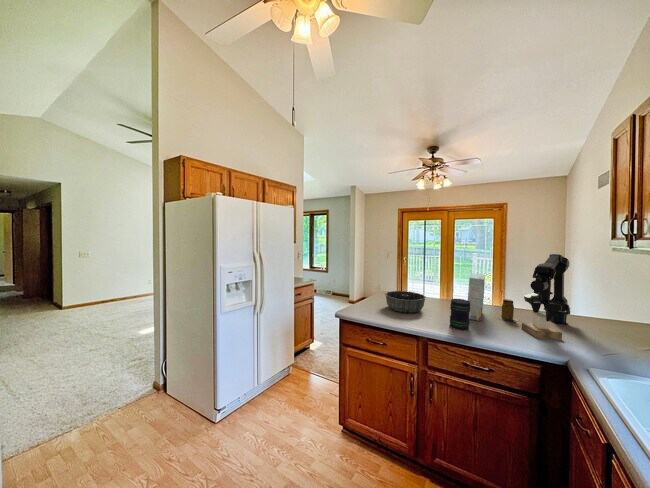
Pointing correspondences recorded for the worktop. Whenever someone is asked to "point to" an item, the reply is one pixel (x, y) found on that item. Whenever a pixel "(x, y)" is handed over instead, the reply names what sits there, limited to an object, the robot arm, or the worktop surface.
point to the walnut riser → (542, 332)
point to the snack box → (476, 296)
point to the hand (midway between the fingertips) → (541, 318)
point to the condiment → (507, 310)
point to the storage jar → (460, 314)
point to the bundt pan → (405, 301)
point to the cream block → (540, 320)
